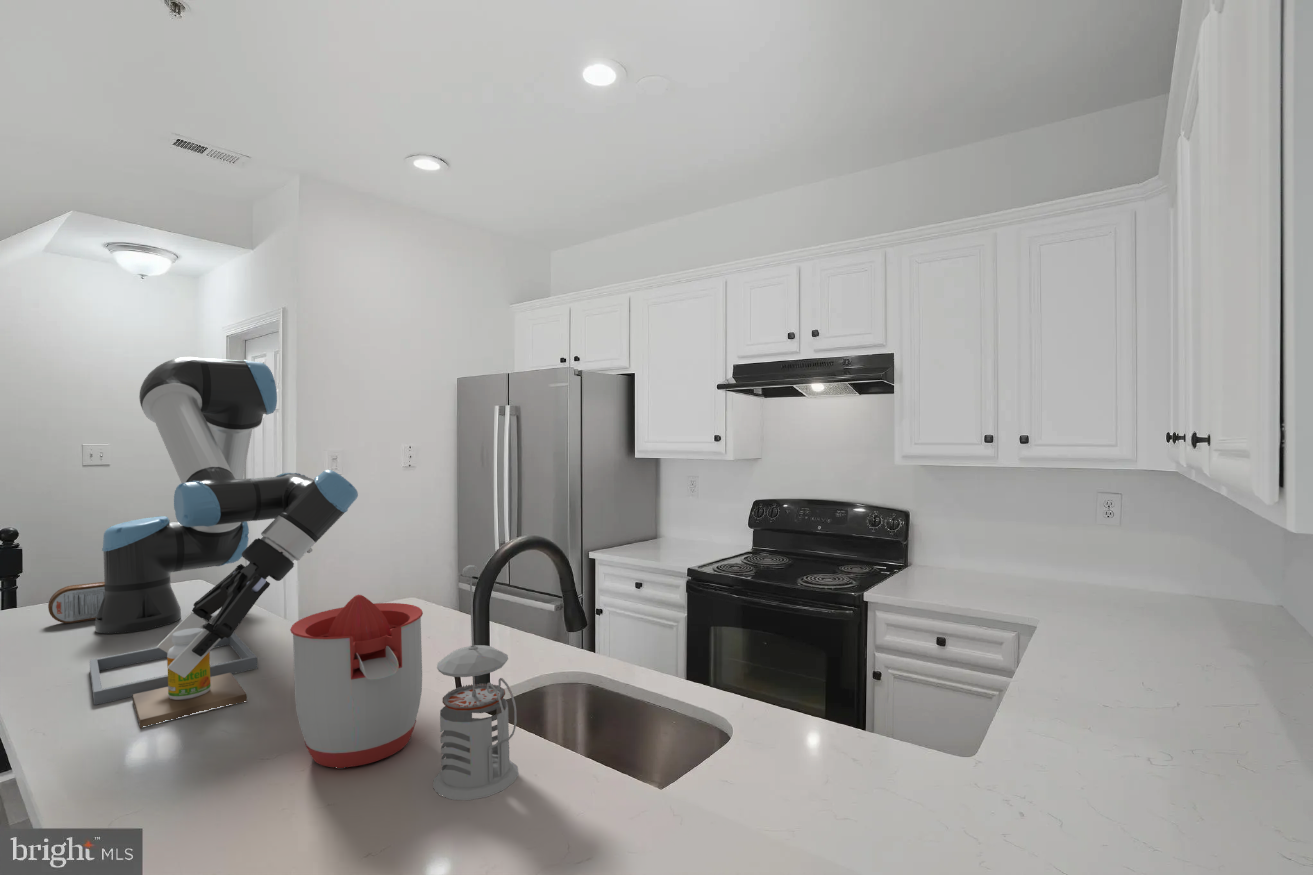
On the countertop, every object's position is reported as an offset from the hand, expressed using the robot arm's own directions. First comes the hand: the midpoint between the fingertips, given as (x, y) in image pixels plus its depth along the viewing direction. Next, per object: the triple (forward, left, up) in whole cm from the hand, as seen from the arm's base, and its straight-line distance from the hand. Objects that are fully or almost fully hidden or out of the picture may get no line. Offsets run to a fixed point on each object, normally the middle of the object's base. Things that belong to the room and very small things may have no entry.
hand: (169, 661), depth 101 cm
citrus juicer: (+20, +34, -7) cm, 41 cm away
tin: (-59, -50, -7) cm, 77 cm away
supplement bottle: (-1, +2, -6) cm, 6 cm away
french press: (+30, +50, -7) cm, 59 cm away
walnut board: (-1, +2, -7) cm, 7 cm away
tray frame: (-18, -10, -7) cm, 21 cm away
